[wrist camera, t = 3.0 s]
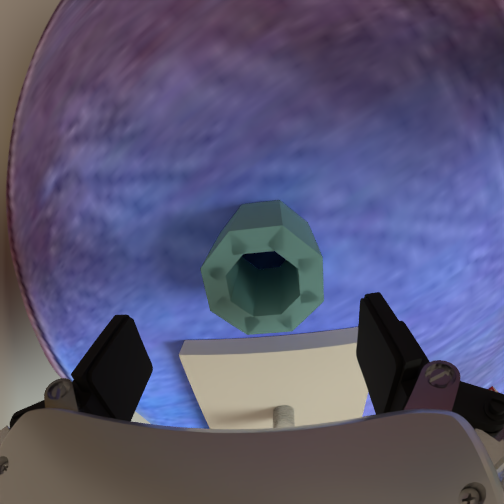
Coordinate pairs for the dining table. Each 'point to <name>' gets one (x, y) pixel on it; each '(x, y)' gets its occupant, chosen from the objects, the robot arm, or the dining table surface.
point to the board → (276, 379)
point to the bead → (264, 270)
